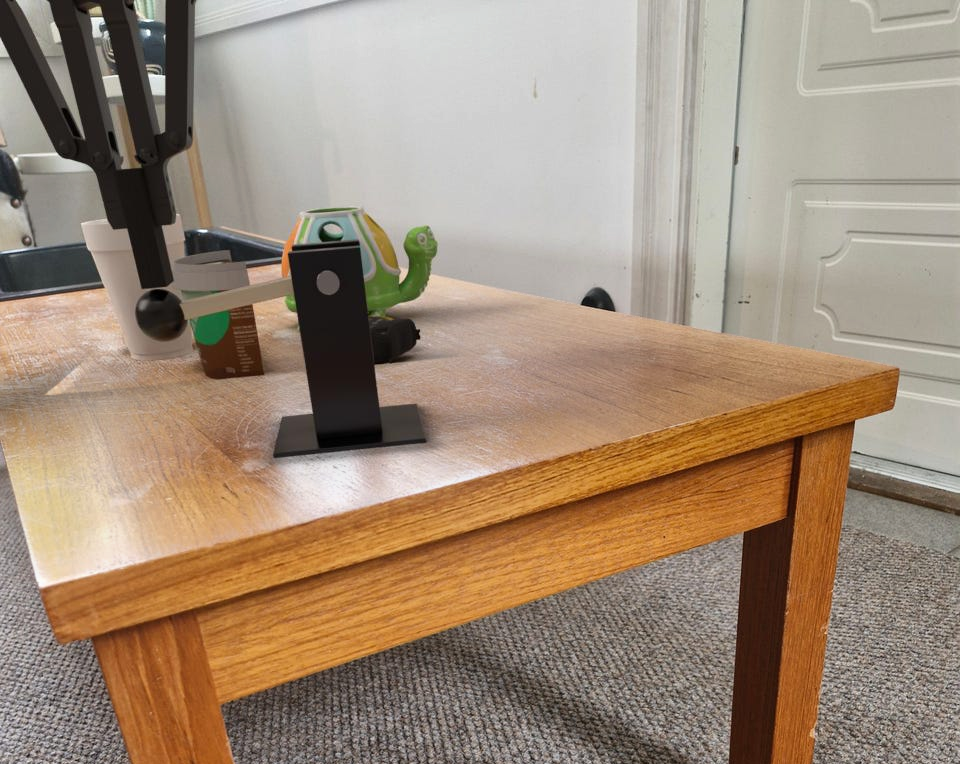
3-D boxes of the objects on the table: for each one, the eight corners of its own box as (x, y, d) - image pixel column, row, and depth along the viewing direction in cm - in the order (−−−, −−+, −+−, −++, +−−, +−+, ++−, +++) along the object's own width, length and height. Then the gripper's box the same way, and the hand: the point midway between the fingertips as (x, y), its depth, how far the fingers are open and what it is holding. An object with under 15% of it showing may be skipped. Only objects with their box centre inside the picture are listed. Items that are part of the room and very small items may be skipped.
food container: (186, 364, 90) (162, 256, 85) (248, 355, 91) (228, 249, 86) (198, 391, 79) (171, 270, 74) (267, 380, 81) (246, 261, 76)
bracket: (275, 471, 59) (237, 261, 52) (284, 432, 66) (251, 245, 60) (427, 455, 59) (407, 246, 53) (418, 418, 67) (400, 232, 61)
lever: (141, 351, 57) (121, 299, 55) (151, 341, 59) (132, 291, 58) (357, 300, 57) (343, 247, 55) (356, 293, 60) (343, 242, 58)
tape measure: (391, 372, 81) (387, 329, 79) (325, 370, 83) (319, 328, 81) (422, 355, 86) (419, 314, 84) (359, 353, 89) (355, 313, 87)
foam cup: (97, 364, 92) (60, 226, 86) (147, 344, 100) (116, 216, 94) (179, 363, 90) (147, 221, 84) (223, 343, 98) (197, 212, 91)
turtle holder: (449, 322, 100) (440, 204, 94) (285, 337, 98) (265, 218, 92) (438, 304, 111) (429, 197, 105) (290, 318, 109) (273, 209, 103)
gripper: (-129, -239, 41) (33, 304, 53) (161, -252, 42) (257, 284, 54) (-63, -187, 47) (68, 286, 59) (187, -199, 48) (267, 268, 60)
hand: (158, 284), depth 56 cm, fingers closed
